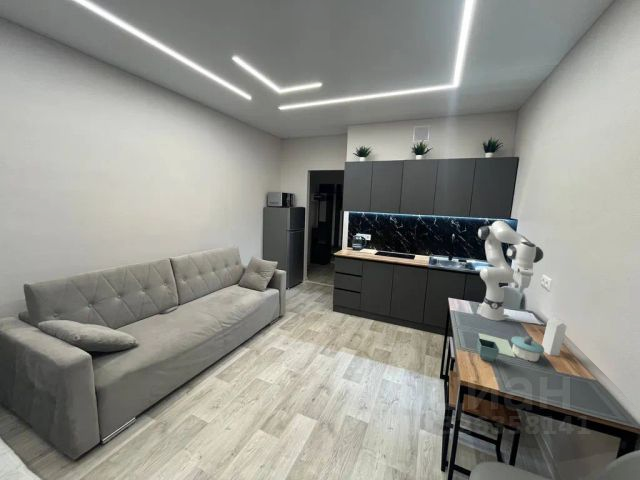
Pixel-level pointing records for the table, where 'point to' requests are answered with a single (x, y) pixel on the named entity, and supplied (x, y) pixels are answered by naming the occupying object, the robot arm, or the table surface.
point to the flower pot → (487, 349)
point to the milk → (554, 336)
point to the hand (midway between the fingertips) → (518, 290)
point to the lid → (527, 344)
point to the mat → (500, 344)
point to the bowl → (525, 354)
